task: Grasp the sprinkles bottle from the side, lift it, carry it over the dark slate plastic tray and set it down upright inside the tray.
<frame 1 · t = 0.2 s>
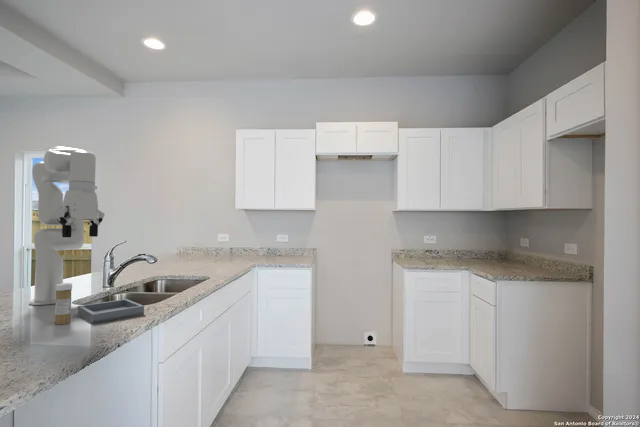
hand: (80, 236, 119), 30 cm above the worktop, fingers open, 9 cm apart
sprinkles bottle: (62, 323, 119), on the worktop
tray: (110, 314, 130), on the worktop
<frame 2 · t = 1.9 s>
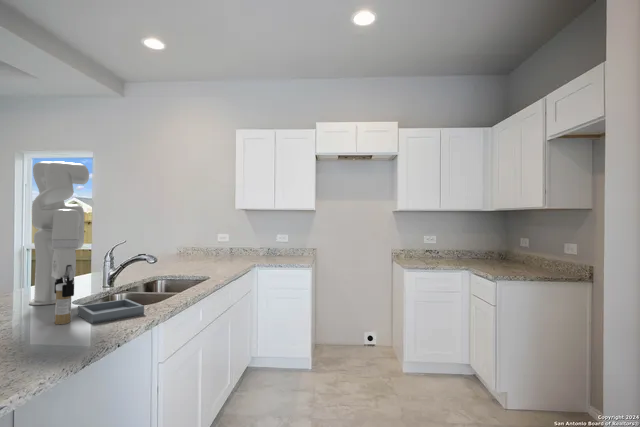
hand: (63, 294, 118), 10 cm above the worktop, fingers open, 9 cm apart
nothing on the worktop moved.
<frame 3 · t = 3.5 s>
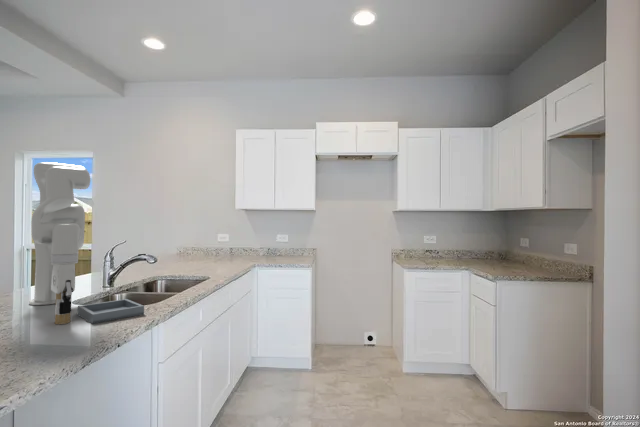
hand: (63, 311, 119), 4 cm above the worktop, fingers closed on sprinkles bottle, 4 cm apart
sprinkles bottle: (62, 323, 119), on the worktop, touching gripper
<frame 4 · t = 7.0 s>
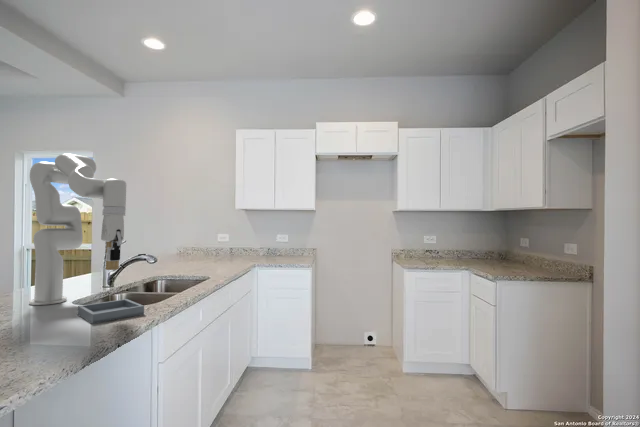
hand: (112, 259, 131), 21 cm above the worktop, fingers closed on sprinkles bottle, 4 cm apart
sprinkles bottle: (112, 269, 130), point 17 cm above the worktop, touching gripper
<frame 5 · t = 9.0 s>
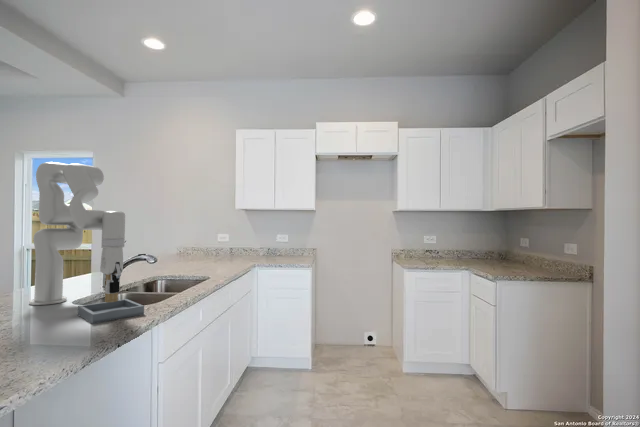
hand: (111, 291, 130), 9 cm above the worktop, fingers closed on sprinkles bottle, 4 cm apart
sprinkles bottle: (111, 302, 130), point 5 cm above the worktop, touching gripper
when the fingers open (5 cm above the worktop, at t = 10.5 s): sprinkles bottle stays where it is, resting on tray.
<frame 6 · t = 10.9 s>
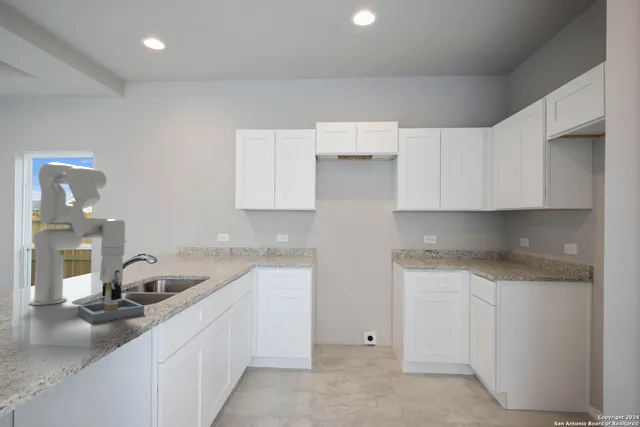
hand: (111, 297, 130), 6 cm above the worktop, fingers open, 8 cm apart
sprinkles bottle: (110, 312, 130), point 1 cm above the worktop, touching tray
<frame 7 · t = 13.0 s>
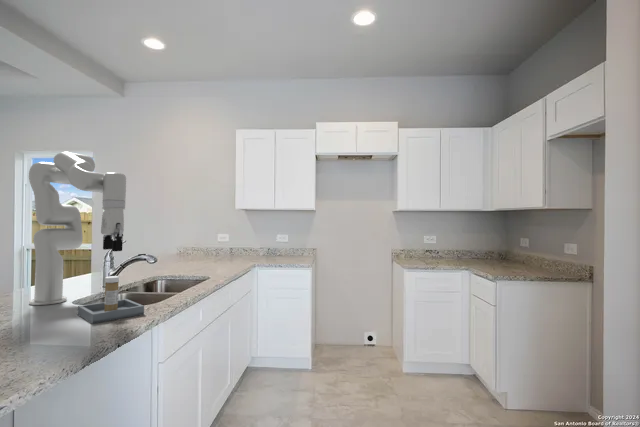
hand: (112, 250, 131), 24 cm above the worktop, fingers open, 9 cm apart
nothing on the worktop moved.
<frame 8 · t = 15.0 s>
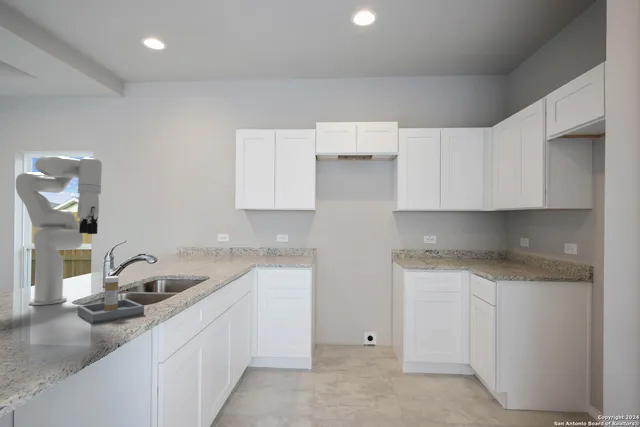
hand: (88, 233, 135), 30 cm above the worktop, fingers open, 9 cm apart
nothing on the worktop moved.
at the end: sprinkles bottle inside the target area on the tray (0.0 cm from its centre), point 0.6 cm above the tray's base; sprinkles bottle tilted 0°; the gripper is holding nothing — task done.
